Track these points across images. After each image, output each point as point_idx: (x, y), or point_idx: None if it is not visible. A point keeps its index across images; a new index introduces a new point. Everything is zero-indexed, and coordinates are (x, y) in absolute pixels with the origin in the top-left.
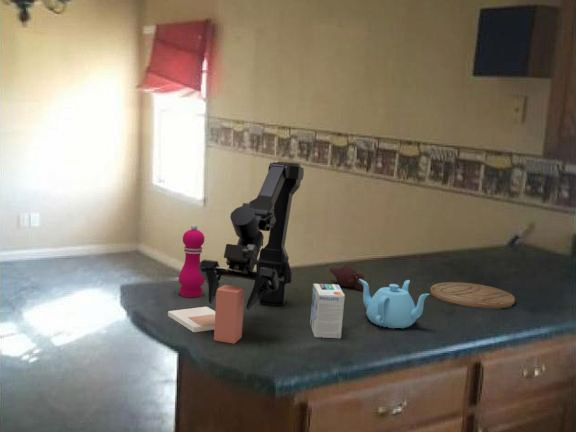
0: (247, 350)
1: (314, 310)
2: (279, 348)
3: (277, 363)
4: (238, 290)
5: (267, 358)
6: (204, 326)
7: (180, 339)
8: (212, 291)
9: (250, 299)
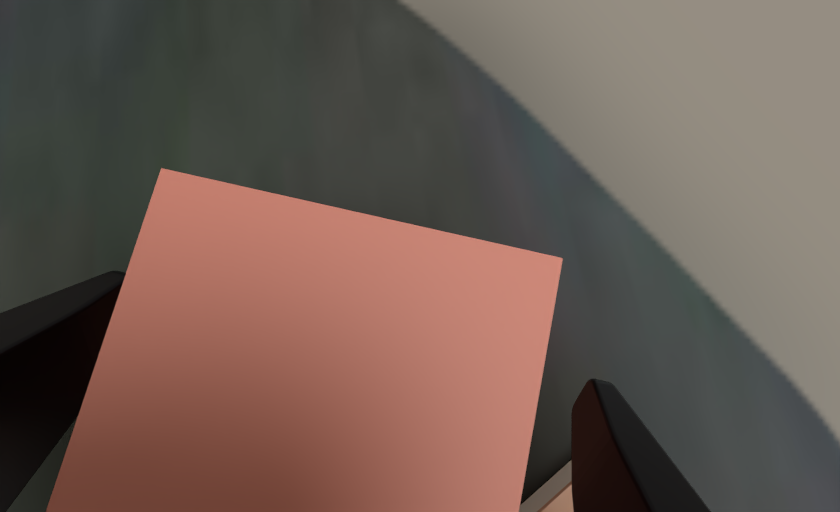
0: None
1: None
2: (47, 265)
3: (72, 34)
4: (143, 328)
5: (125, 91)
6: (562, 486)
7: (650, 273)
8: (641, 496)
9: (20, 320)
